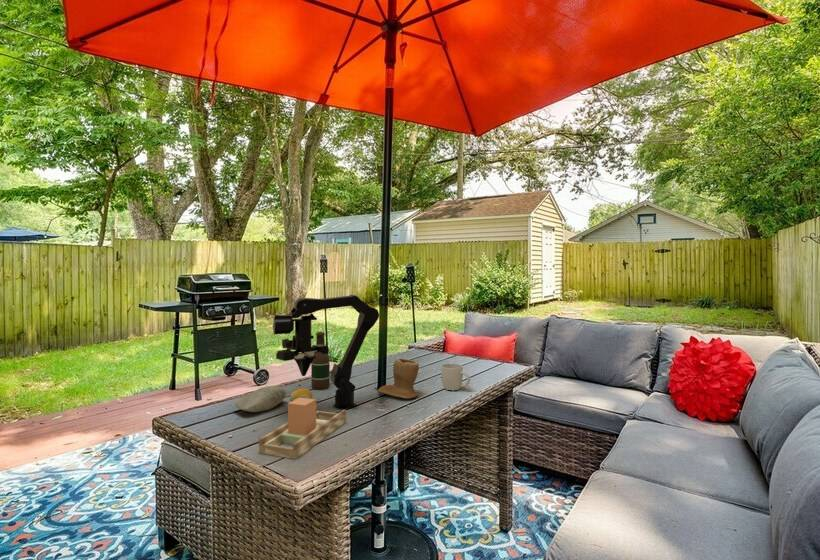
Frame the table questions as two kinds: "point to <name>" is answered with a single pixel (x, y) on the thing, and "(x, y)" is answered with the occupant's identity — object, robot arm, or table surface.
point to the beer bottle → (320, 367)
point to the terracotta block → (302, 416)
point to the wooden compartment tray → (300, 436)
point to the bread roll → (301, 394)
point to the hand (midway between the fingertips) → (303, 375)
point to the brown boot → (402, 379)
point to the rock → (262, 399)
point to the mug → (453, 376)
